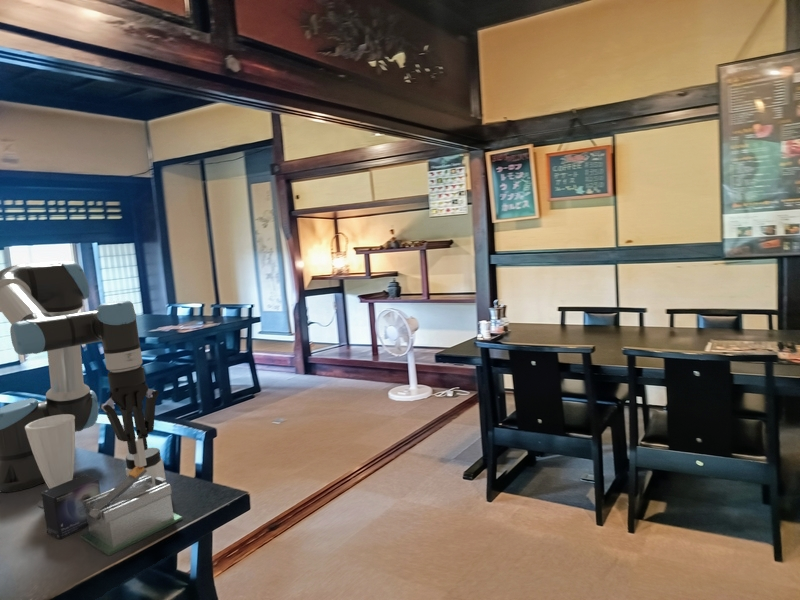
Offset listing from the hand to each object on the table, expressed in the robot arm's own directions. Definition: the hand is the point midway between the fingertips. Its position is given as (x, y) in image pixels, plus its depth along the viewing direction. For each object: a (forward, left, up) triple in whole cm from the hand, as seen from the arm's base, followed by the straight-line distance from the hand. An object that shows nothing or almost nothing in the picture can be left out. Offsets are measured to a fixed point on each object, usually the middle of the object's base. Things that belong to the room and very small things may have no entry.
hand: (140, 465), depth 128 cm
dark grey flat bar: (0, -6, -5) cm, 7 cm away
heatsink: (0, -4, -14) cm, 14 cm away
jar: (-13, +6, -14) cm, 20 cm away
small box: (-14, -11, -14) cm, 23 cm away
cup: (-35, -6, -14) cm, 38 cm away
